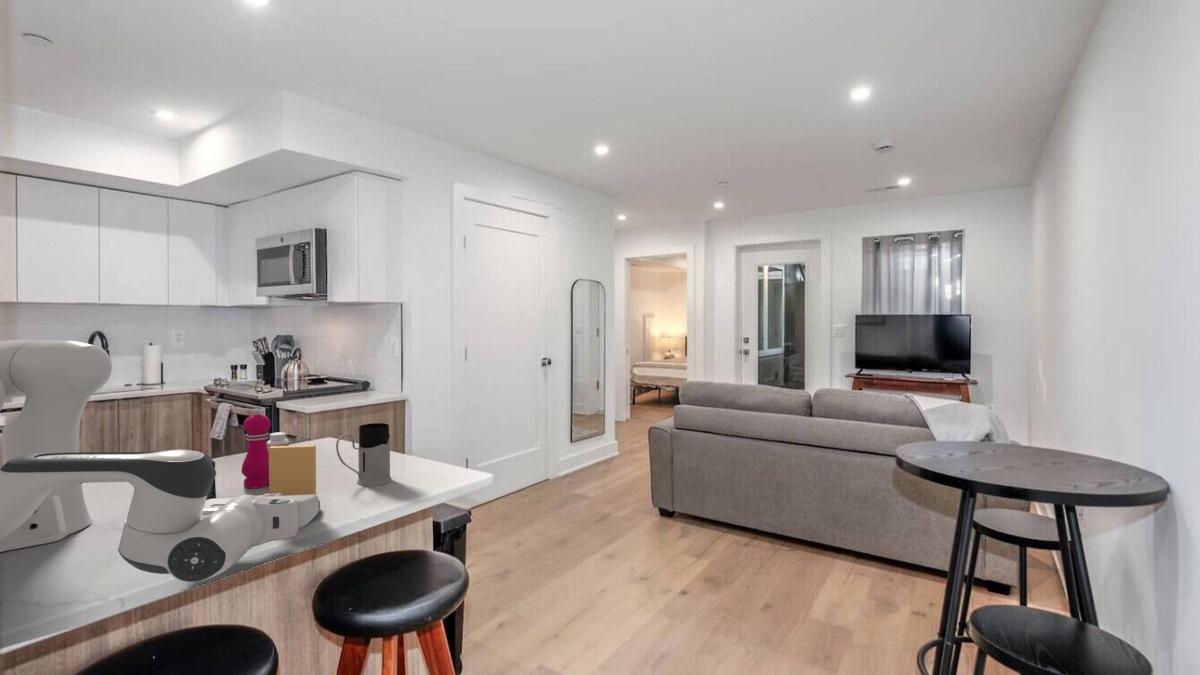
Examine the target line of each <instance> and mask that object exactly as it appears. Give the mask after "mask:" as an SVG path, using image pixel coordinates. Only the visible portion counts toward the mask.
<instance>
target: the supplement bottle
mask: <svg viewBox="0 0 1200 675" xmlns="http://www.w3.org/2000/svg"><path fill="white" fill-rule="evenodd" d="M289 442H290V441H289V439H287V437H286V432H284V431H283V432H282V431H281V432H280V431H278V432H277V431H276V432H272V433H269V440H267V449H268V452H269V448H270V447H271V446H290V443H289Z"/></svg>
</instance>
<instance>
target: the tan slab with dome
mask: <svg viewBox="0 0 1200 675" xmlns="http://www.w3.org/2000/svg"><path fill="white" fill-rule="evenodd" d="M316 449H317V448H316V445H315V444H312V445H311V444H307V445H289V446H271V447H270V448H269V485H268V487H269V489H268V490H269V493H268V494H272V493H281V494H282V496H287V495H310V494H315V495H317V460H316V459H317V456H316V454H317V452H316V451H317V450H316ZM263 495H264V494H260V495H256V496H257V497H259V496H263Z"/></svg>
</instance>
